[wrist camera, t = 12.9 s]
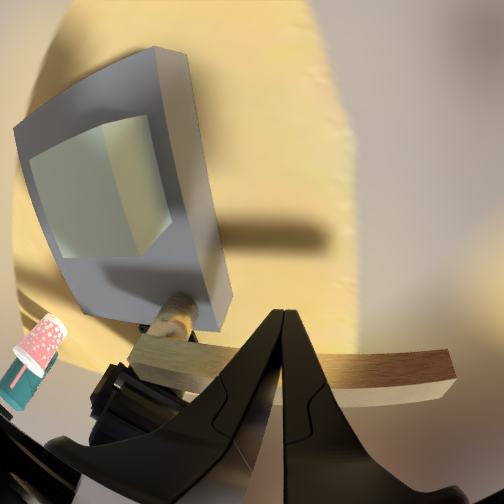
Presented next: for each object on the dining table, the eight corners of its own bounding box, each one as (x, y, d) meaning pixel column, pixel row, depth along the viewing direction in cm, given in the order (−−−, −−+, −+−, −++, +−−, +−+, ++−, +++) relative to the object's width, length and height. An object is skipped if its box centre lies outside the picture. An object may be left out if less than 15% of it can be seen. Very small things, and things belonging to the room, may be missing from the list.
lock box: (233, 295, 22) (219, 332, 18) (104, 288, 25) (84, 314, 21) (187, 54, 13) (154, 46, 9) (47, 117, 16) (13, 128, 12)
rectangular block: (172, 222, 14) (140, 256, 11) (96, 229, 16) (63, 257, 13) (147, 114, 11) (102, 124, 8) (70, 142, 13) (28, 160, 10)
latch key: (171, 318, 18) (138, 380, 14) (162, 292, 17) (122, 356, 12) (420, 330, 15) (439, 399, 10) (432, 303, 14) (458, 376, 9)
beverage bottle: (37, 331, 38) (-13, 403, 21) (40, 321, 35) (-18, 401, 18) (60, 354, 40) (14, 428, 23) (66, 346, 37) (13, 430, 20)
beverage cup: (58, 335, 35) (17, 394, 24) (38, 308, 32) (-9, 367, 21) (77, 340, 34) (33, 407, 22) (55, 310, 31) (4, 378, 19)
